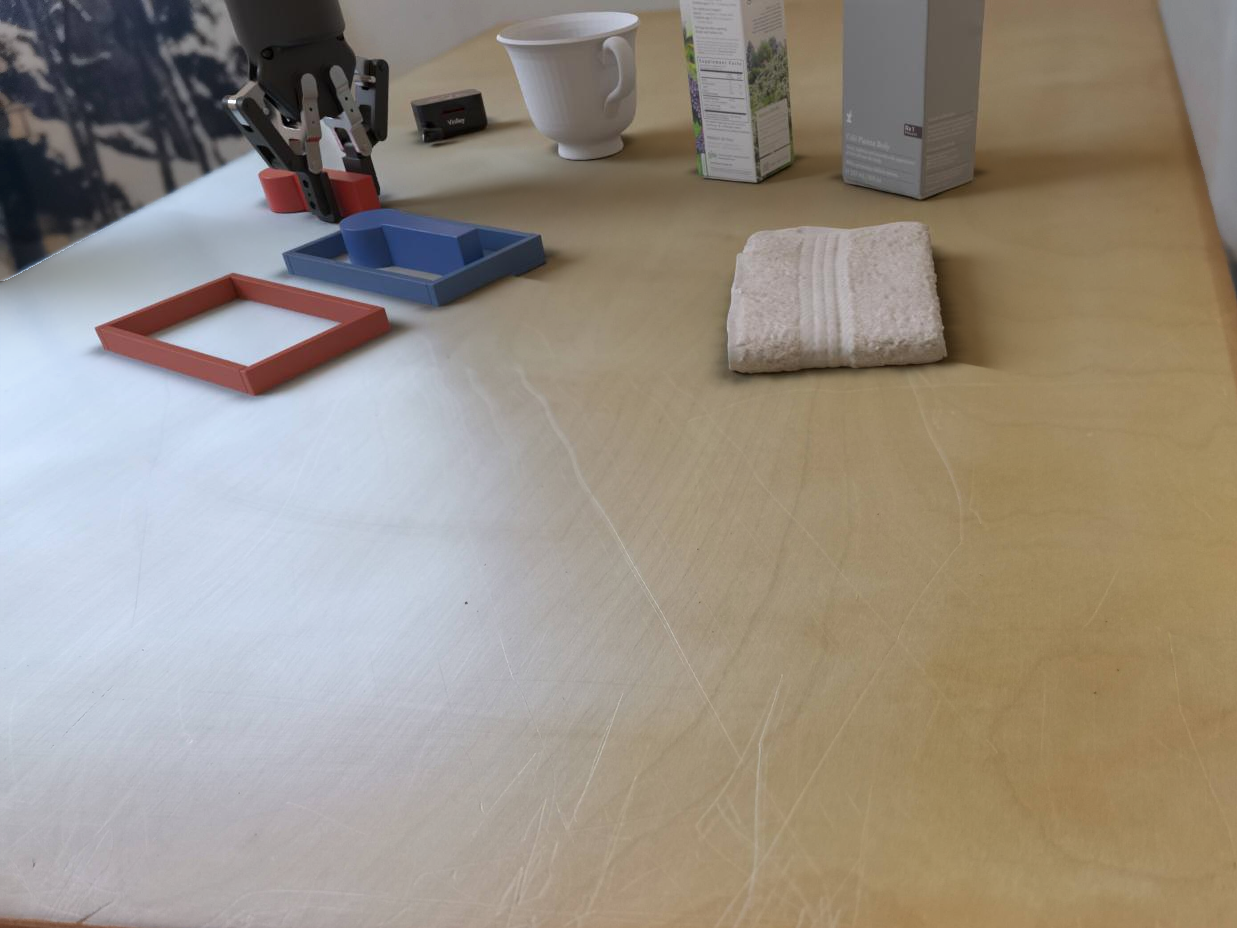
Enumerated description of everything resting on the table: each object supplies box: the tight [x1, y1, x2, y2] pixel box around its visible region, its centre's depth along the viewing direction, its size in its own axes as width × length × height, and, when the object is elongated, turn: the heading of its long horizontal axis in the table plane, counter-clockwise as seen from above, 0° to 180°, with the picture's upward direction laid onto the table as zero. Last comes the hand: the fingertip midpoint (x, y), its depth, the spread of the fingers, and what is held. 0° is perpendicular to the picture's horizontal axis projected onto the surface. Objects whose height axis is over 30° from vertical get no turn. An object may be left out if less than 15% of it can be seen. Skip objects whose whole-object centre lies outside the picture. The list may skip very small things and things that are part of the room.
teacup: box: [496, 11, 642, 161], centre depth 96 cm, size 12×15×10 cm
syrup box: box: [678, 0, 795, 184], centre depth 87 cm, size 6×6×14 cm
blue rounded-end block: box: [338, 208, 484, 277], centre depth 77 cm, size 12×4×3 cm, turn 57°
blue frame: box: [281, 211, 547, 308], centre depth 77 cm, size 15×10×2 cm, turn 57°
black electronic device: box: [410, 88, 489, 144], centre depth 107 cm, size 5×7×3 cm, turn 123°
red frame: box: [94, 272, 392, 397], centre depth 69 cm, size 15×10×2 cm, turn 57°
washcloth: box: [726, 220, 948, 374], centre depth 66 cm, size 12×18×3 cm, turn 179°
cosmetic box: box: [841, 0, 986, 200], centre depth 81 cm, size 8×7×16 cm
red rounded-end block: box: [258, 166, 382, 218], centre depth 91 cm, size 12×4×3 cm, turn 57°
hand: (348, 211), depth 90 cm, fingers open, 3 cm apart
